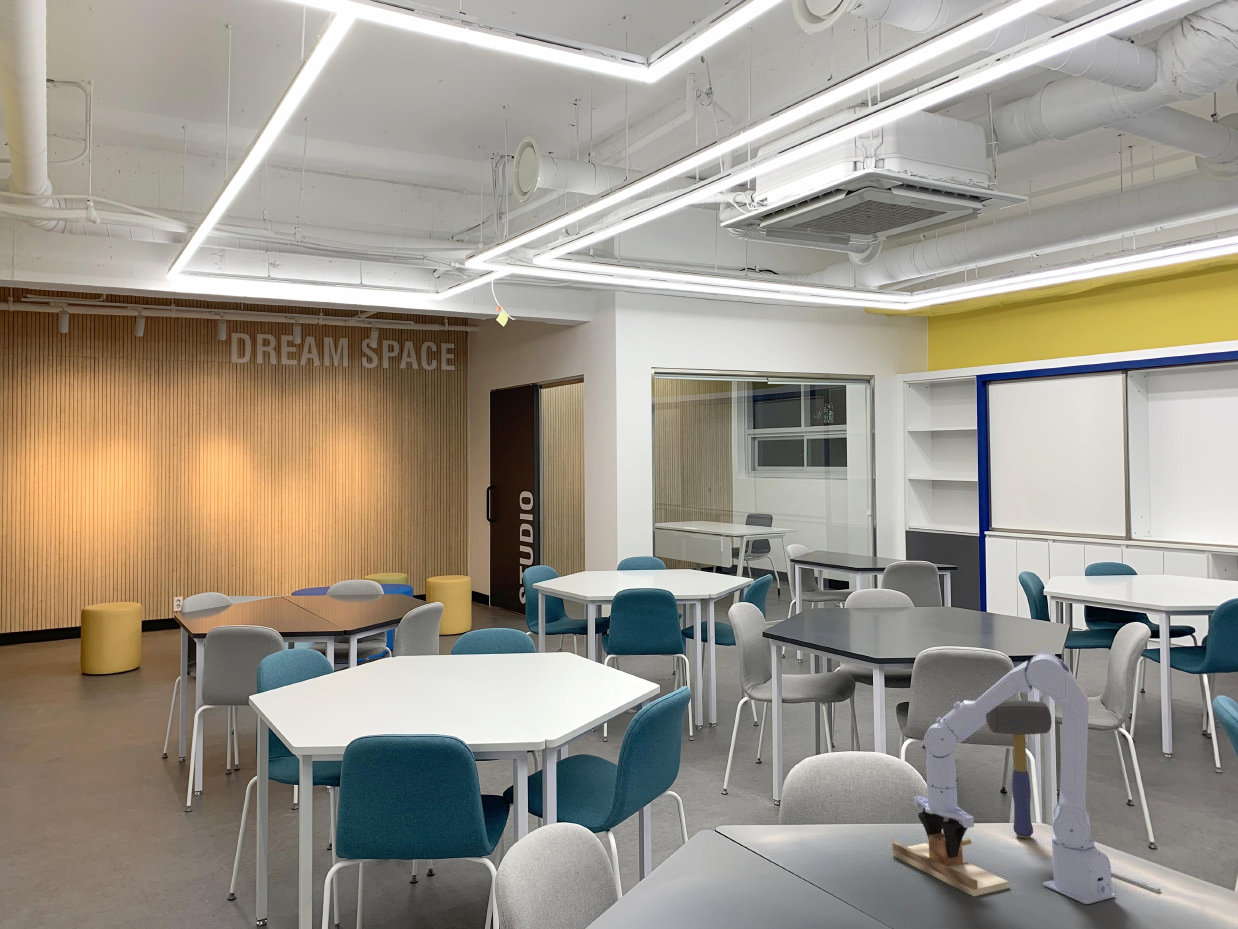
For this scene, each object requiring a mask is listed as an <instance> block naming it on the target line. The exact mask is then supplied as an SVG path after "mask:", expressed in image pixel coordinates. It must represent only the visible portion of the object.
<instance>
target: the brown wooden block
mask: <svg viewBox="0 0 1238 929" xmlns="http://www.w3.org/2000/svg"><path fill="white" fill-rule="evenodd" d="M928 844H929V858H931V859H933V860H935V861H937V862H939V863H941V864H943V865H945V866H952V865H957V864H961V863H963V861H964V860H963V859H964V856H963V846H968V845H972V840H971V839H969V838H967V839H962V841H961V844H960V848H959V853H958V857H954V858H949V857H948V855H947V851H946V840H945V836H944V832H943V831H942V833H937V834H932V835H929V840H928Z"/></svg>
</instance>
